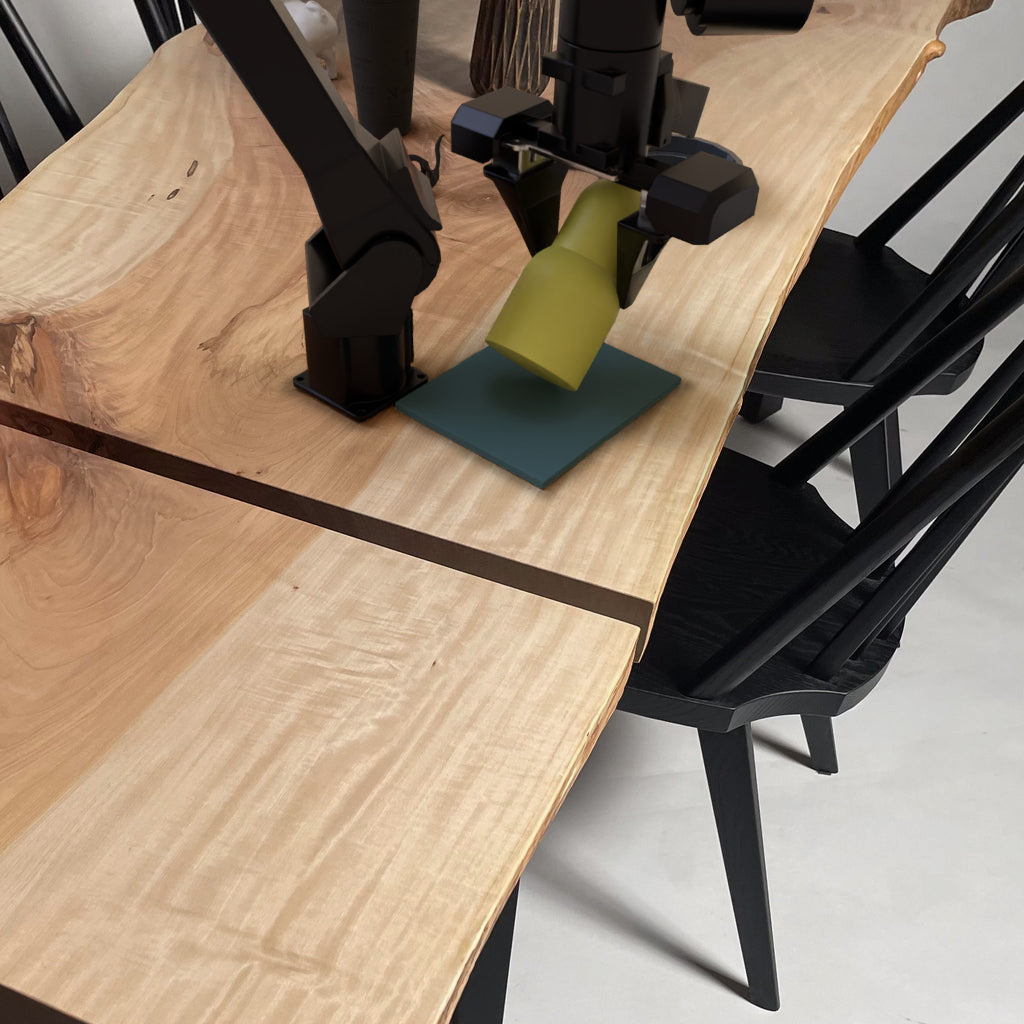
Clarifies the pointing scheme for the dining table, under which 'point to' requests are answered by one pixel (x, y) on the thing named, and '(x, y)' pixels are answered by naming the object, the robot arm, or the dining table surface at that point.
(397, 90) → the drinking cup
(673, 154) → the bowl
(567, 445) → the mat
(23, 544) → the dining table surface
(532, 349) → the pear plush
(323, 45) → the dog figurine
